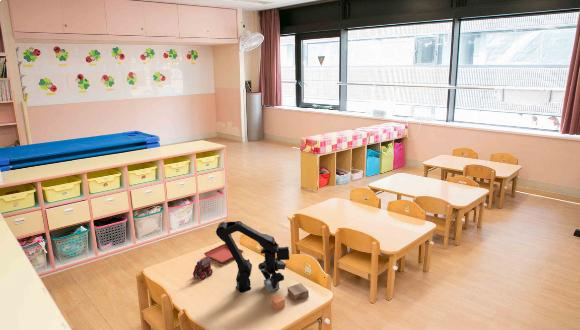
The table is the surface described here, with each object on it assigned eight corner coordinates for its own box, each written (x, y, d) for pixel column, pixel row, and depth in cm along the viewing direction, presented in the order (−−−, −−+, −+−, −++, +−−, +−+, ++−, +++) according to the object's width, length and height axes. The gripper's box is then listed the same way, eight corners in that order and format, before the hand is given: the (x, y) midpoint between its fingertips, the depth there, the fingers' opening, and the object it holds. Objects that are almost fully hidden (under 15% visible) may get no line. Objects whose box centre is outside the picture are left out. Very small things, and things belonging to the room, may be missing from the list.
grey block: (269, 291, 217) (269, 285, 216) (264, 286, 222) (263, 280, 221) (279, 288, 220) (279, 281, 219) (273, 283, 225) (273, 276, 224)
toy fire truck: (190, 278, 232) (188, 262, 230) (207, 269, 242) (205, 253, 239) (198, 282, 228) (196, 265, 226) (215, 272, 238) (213, 256, 235)
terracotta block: (276, 310, 202) (275, 302, 201) (271, 304, 206) (271, 298, 205) (285, 306, 204) (284, 299, 203) (280, 301, 208) (279, 294, 207)
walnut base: (294, 301, 208) (294, 295, 207) (287, 294, 215) (287, 287, 214) (308, 297, 211) (308, 290, 210) (301, 289, 218) (300, 283, 217)
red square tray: (225, 247, 269) (225, 242, 268) (244, 255, 258) (244, 250, 257) (203, 258, 256) (203, 253, 255) (222, 267, 245) (221, 262, 244)
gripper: (292, 262, 212) (293, 289, 217) (275, 248, 228) (276, 273, 232) (273, 268, 207) (275, 296, 211) (257, 254, 223) (258, 279, 227)
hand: (271, 285), depth 220 cm, fingers closed on grey block, 6 cm apart
